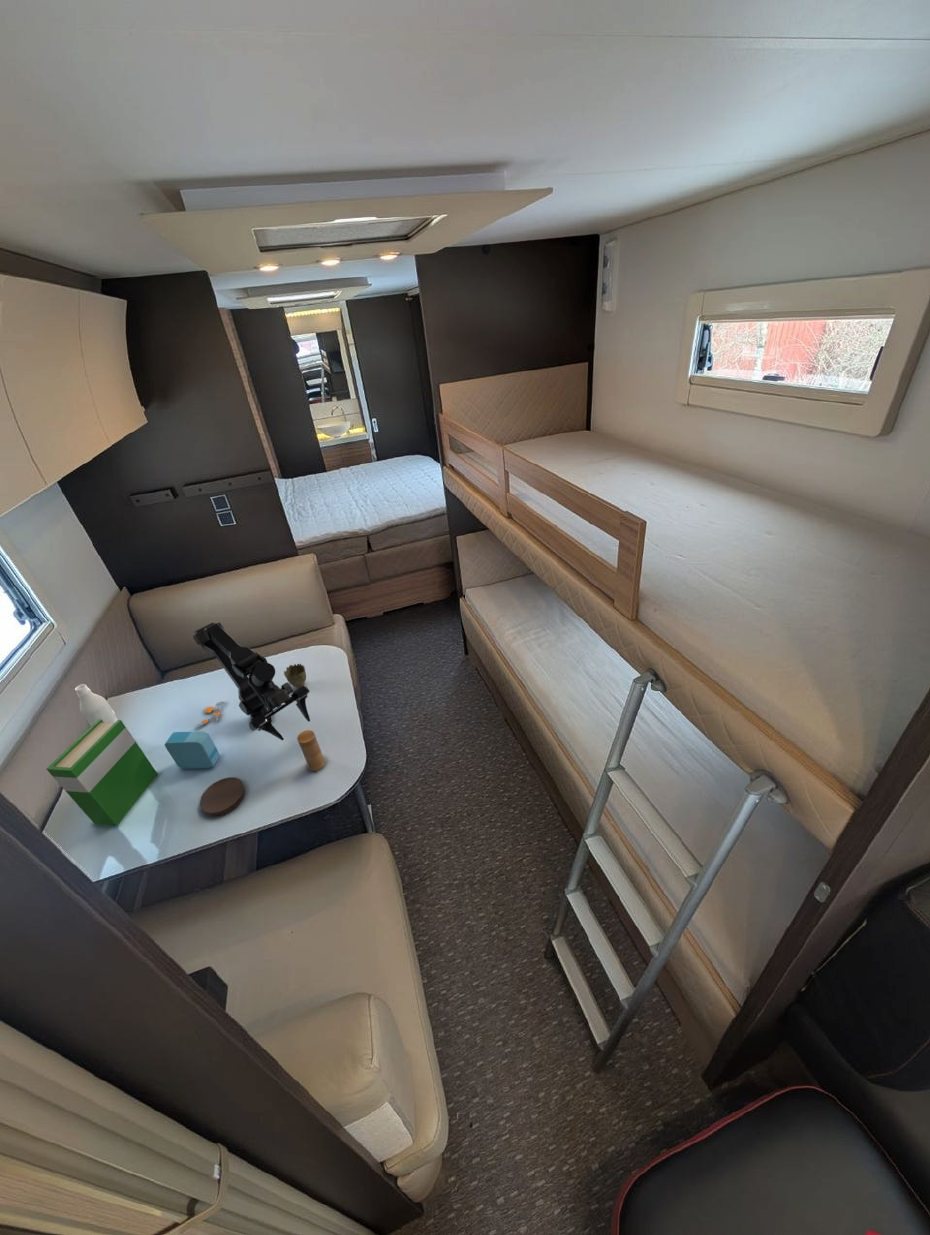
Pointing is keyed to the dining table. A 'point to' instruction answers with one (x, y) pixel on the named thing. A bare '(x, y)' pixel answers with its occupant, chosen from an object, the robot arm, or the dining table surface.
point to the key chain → (213, 714)
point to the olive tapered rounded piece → (296, 675)
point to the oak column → (311, 750)
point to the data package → (192, 749)
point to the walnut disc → (222, 797)
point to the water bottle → (94, 706)
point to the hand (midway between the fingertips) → (296, 730)
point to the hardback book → (104, 772)
